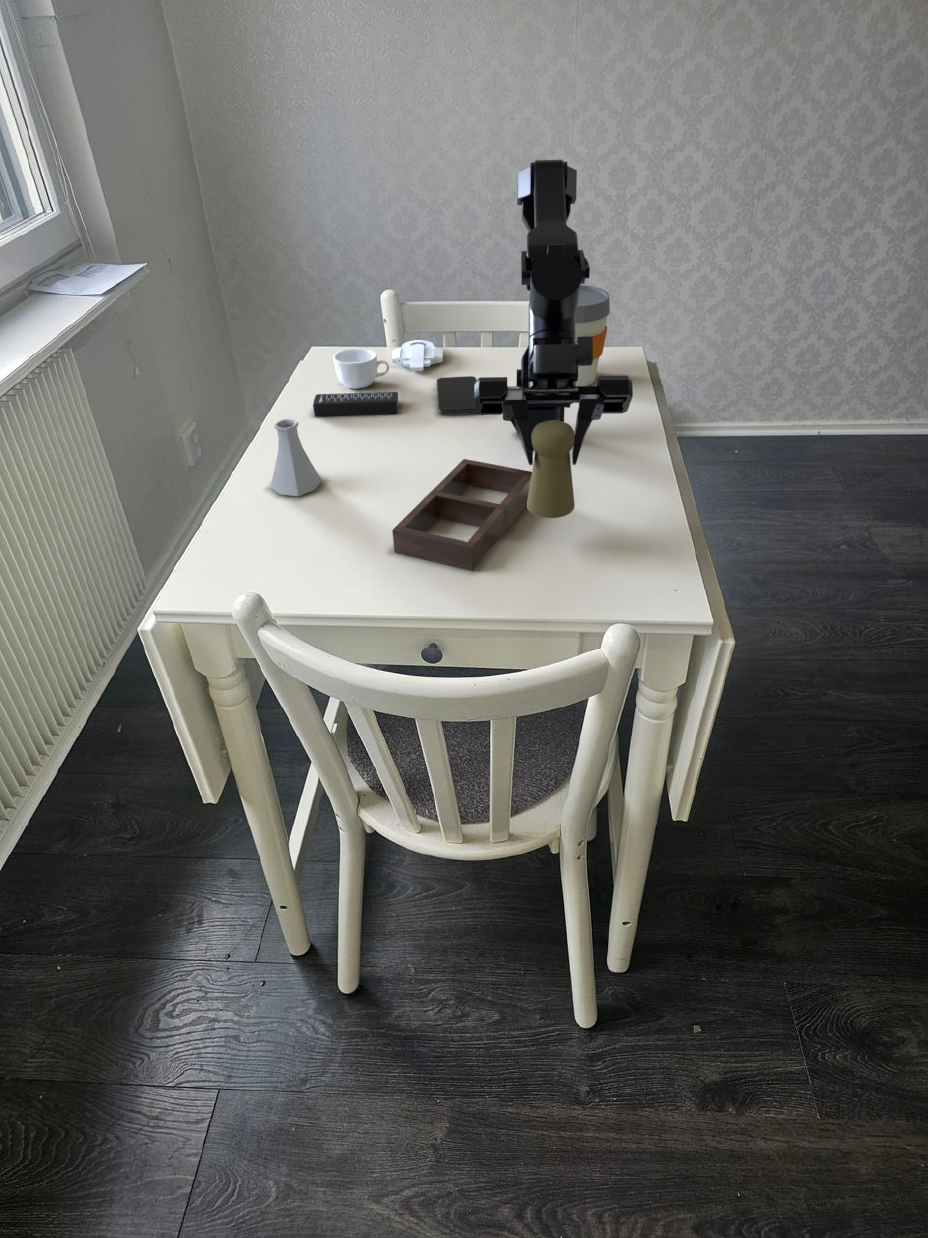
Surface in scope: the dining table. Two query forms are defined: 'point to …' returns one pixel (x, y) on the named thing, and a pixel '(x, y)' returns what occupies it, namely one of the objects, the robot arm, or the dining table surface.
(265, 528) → the dining table surface
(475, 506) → the frame
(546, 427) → the olive pawn
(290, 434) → the flask
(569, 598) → the dining table surface
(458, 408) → the smartphone
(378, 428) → the dining table surface
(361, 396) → the multiport hub
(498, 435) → the dining table surface
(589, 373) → the reusable coffee cup
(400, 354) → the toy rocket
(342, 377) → the teacup
